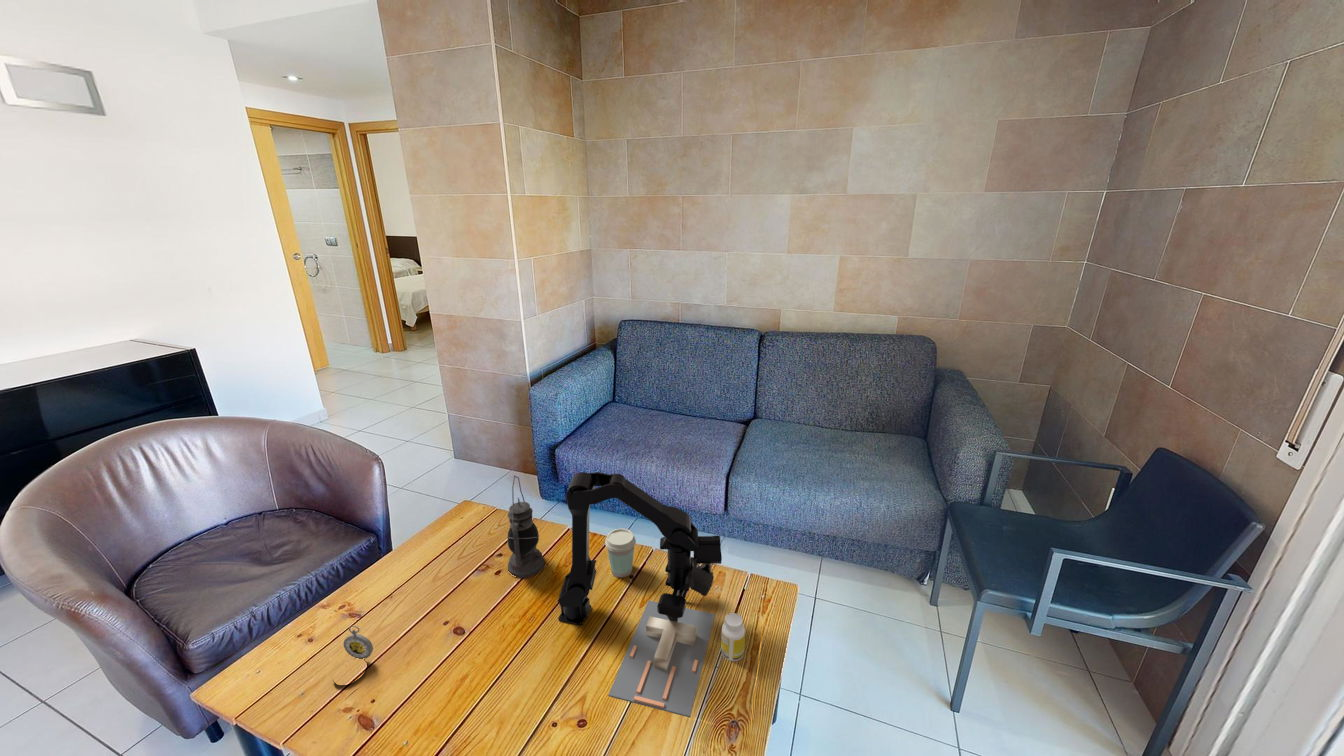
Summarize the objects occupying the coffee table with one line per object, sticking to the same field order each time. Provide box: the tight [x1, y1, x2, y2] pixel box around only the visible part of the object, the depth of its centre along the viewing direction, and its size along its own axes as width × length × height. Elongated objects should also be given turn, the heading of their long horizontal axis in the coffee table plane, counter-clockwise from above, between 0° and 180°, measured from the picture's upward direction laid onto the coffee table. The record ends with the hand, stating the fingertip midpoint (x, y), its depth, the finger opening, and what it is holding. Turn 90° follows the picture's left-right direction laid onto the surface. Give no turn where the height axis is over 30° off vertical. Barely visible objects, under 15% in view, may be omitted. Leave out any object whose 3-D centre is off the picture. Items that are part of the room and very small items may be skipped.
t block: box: [646, 616, 697, 670], centre depth 116 cm, size 12×11×3 cm
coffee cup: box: [604, 527, 636, 578], centre depth 140 cm, size 8×8×12 cm
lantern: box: [506, 475, 546, 579], centre depth 140 cm, size 12×11×30 cm
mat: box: [607, 599, 716, 719], centre depth 116 cm, size 18×28×1 cm, turn 165°
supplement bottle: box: [720, 612, 746, 662], centre depth 114 cm, size 5×5×10 cm
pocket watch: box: [343, 625, 374, 659], centre depth 110 cm, size 8×8×10 cm
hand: (678, 610), depth 126 cm, fingers open, 9 cm apart
